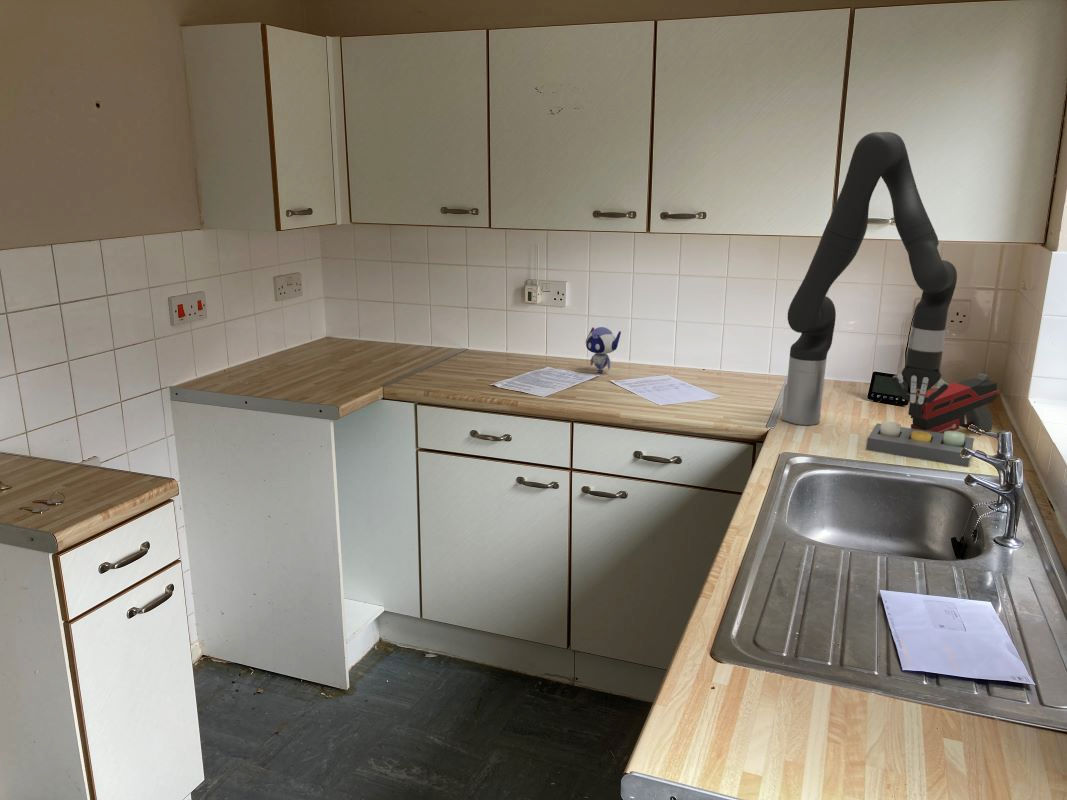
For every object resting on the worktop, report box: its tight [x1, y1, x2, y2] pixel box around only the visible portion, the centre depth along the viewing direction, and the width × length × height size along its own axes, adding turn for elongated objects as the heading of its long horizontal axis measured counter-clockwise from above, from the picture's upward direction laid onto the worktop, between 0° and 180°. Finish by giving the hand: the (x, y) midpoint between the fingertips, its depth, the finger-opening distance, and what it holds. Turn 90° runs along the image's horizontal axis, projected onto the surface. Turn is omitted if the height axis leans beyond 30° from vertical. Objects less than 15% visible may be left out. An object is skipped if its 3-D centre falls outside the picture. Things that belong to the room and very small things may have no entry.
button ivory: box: [880, 420, 902, 437], centre depth 206 cm, size 4×4×4 cm
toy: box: [585, 326, 622, 374], centre depth 271 cm, size 11×10×15 cm
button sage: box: [943, 430, 966, 447], centre depth 199 cm, size 4×4×4 cm
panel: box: [865, 423, 975, 467], centre depth 203 cm, size 22×14×3 cm, turn 60°
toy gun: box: [910, 372, 1000, 433], centre depth 215 cm, size 5×24×15 cm, turn 110°
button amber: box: [911, 431, 932, 442], centre depth 203 cm, size 4×4×4 cm
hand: (914, 417), depth 203 cm, fingers closed
